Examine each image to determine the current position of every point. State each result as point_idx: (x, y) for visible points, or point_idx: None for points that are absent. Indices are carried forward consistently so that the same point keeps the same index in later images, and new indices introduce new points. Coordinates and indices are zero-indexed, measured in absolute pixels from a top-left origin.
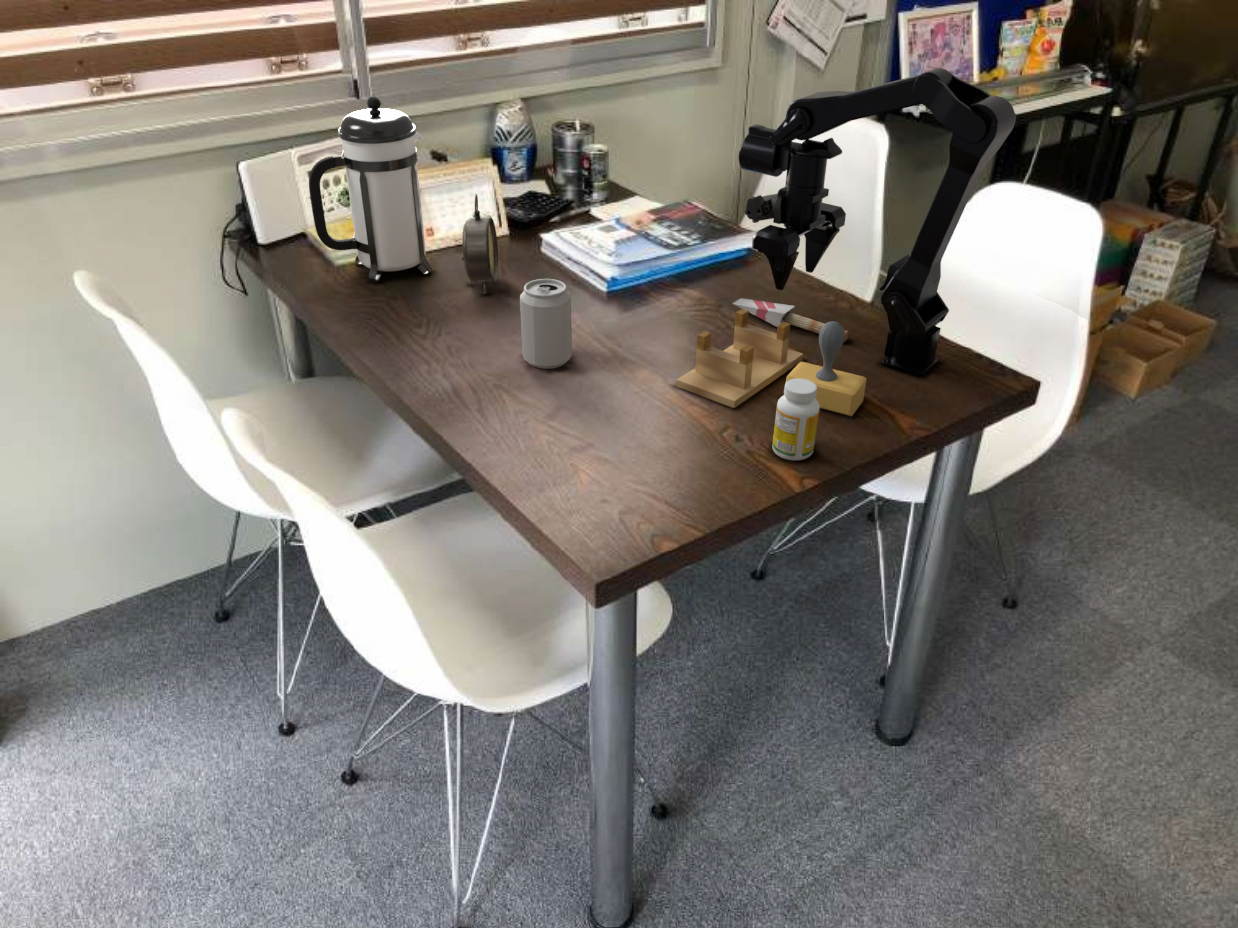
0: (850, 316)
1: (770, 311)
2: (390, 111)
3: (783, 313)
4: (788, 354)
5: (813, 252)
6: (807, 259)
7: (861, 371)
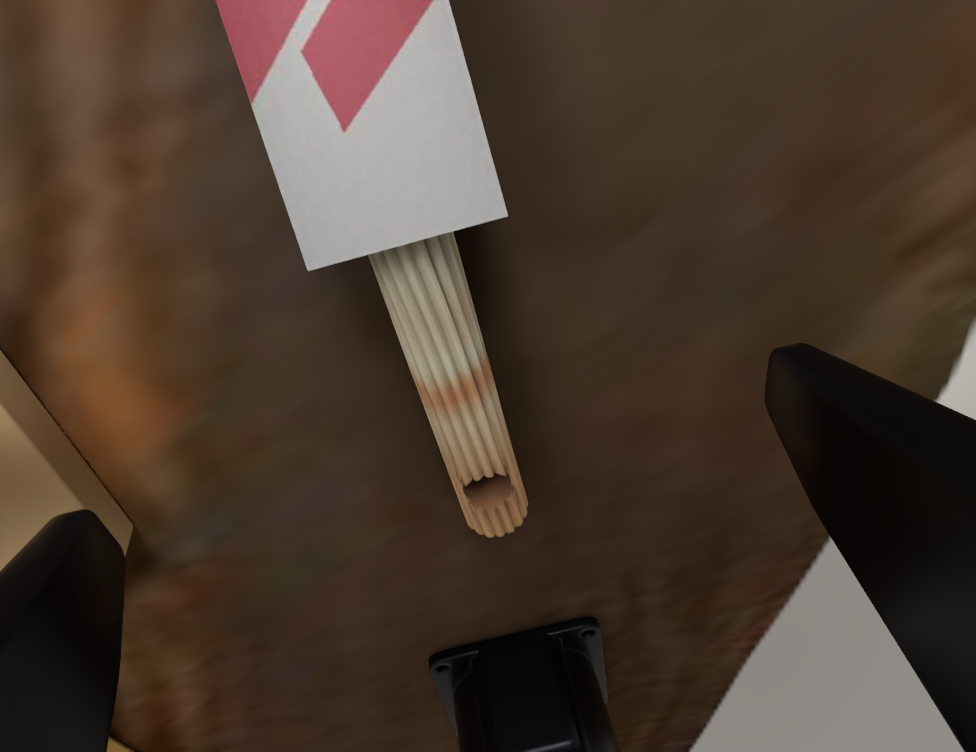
0: (803, 312)
1: (261, 130)
2: None
3: (310, 259)
4: (28, 537)
5: (941, 605)
6: (868, 454)
7: (318, 654)
